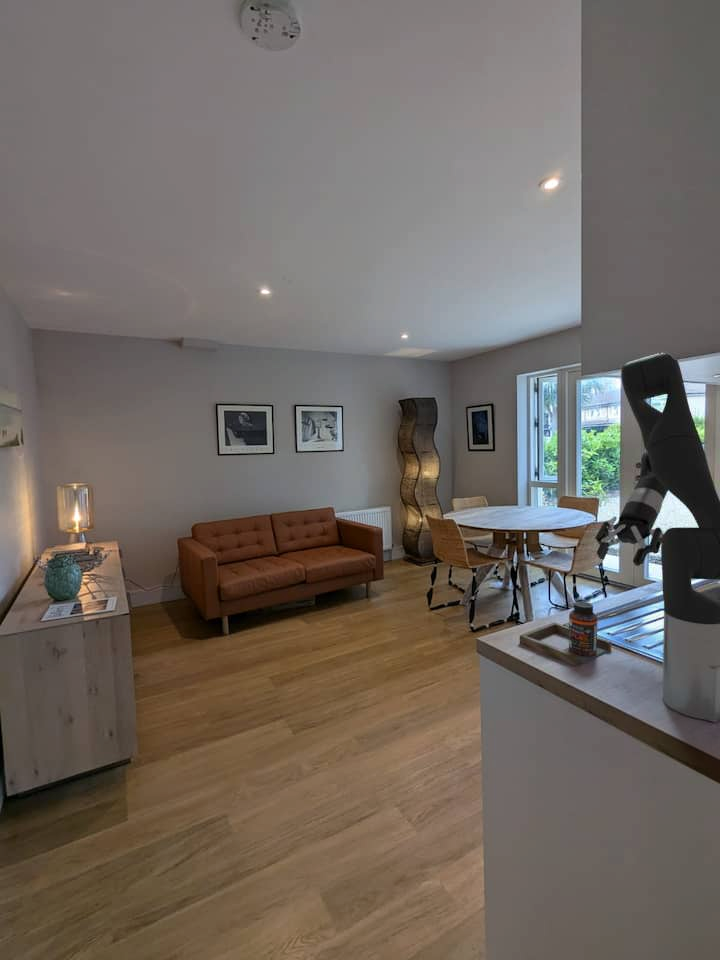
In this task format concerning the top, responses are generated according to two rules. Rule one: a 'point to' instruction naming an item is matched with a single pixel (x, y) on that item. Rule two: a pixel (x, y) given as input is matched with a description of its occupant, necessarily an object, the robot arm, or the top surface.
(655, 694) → the top surface
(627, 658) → the top surface
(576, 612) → the supplement bottle
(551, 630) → the frame
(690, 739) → the top surface
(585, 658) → the front pad
